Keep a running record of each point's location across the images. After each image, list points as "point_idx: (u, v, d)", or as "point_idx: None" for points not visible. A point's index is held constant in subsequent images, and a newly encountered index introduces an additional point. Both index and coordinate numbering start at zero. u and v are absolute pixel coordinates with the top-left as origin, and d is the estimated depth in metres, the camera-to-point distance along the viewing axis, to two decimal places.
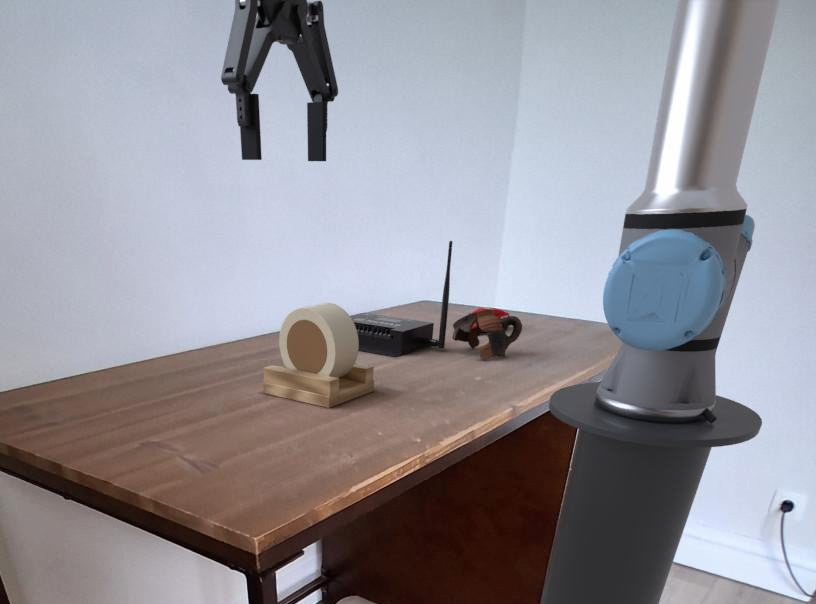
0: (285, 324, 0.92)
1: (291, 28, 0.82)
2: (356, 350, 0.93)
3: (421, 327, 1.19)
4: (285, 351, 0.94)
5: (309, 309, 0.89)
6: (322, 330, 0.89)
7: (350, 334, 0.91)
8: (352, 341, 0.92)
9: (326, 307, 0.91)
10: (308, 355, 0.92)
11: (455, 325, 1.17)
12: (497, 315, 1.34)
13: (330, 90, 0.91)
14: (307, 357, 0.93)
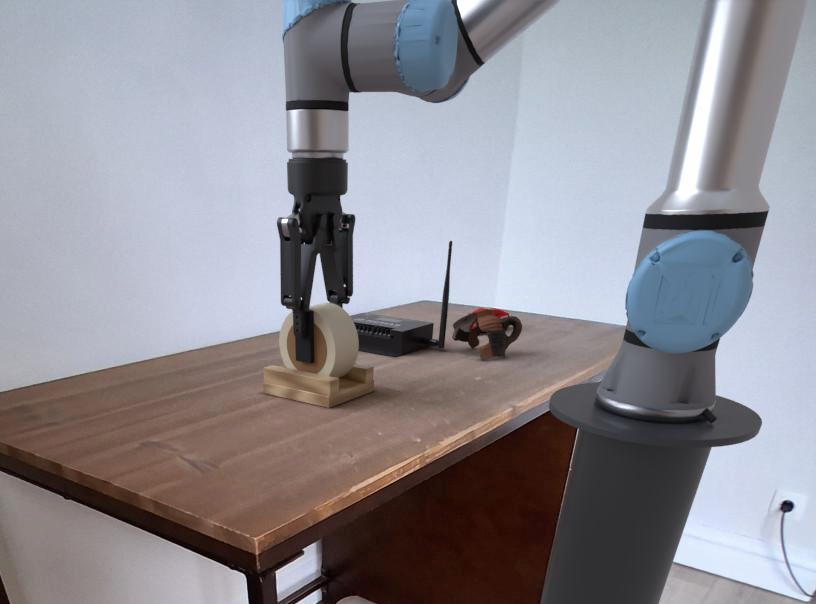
0: (285, 324, 0.92)
1: (326, 233, 0.86)
2: (356, 350, 0.93)
3: (421, 327, 1.19)
4: (285, 351, 0.94)
5: (309, 309, 0.89)
6: (322, 330, 0.89)
7: (350, 334, 0.91)
8: (352, 341, 0.92)
9: (326, 307, 0.91)
10: None
11: (455, 325, 1.16)
12: (497, 315, 1.34)
13: (346, 289, 0.93)
14: None
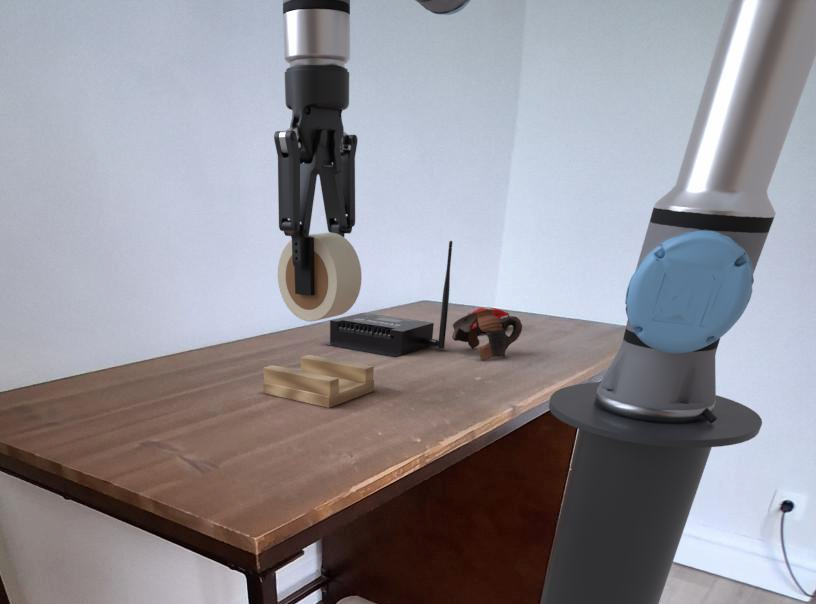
0: (284, 255, 0.87)
1: (327, 152, 0.81)
2: (359, 282, 0.88)
3: (421, 327, 1.19)
4: (284, 285, 0.90)
5: (309, 236, 0.84)
6: (323, 258, 0.84)
7: (353, 264, 0.87)
8: (355, 272, 0.87)
9: (327, 235, 0.86)
10: None
11: (455, 325, 1.16)
12: (497, 315, 1.34)
13: (347, 219, 0.88)
14: None
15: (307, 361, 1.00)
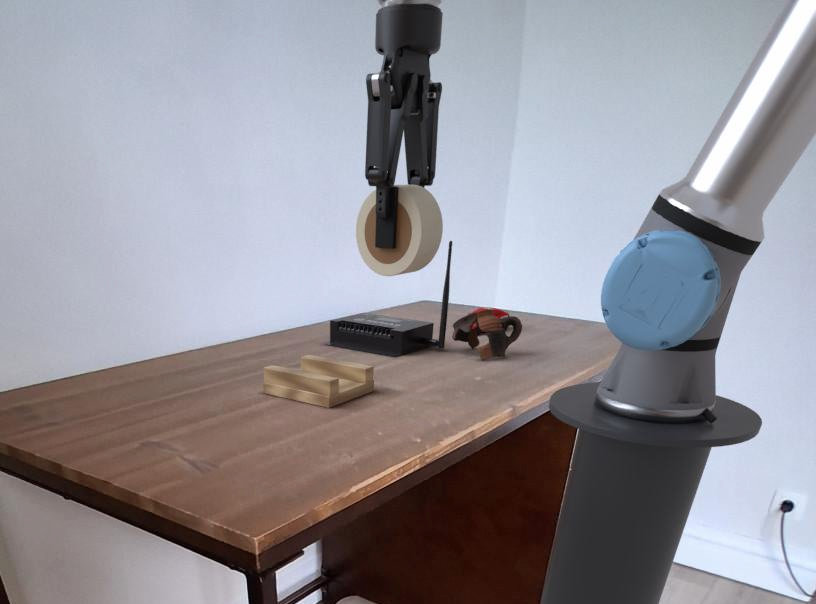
0: (364, 207, 0.86)
1: (415, 98, 0.79)
2: (440, 236, 0.87)
3: (421, 327, 1.19)
4: (362, 239, 0.88)
5: (393, 186, 0.82)
6: (407, 208, 0.83)
7: (435, 215, 0.85)
8: (437, 224, 0.85)
9: (410, 186, 0.84)
10: None
11: (455, 325, 1.16)
12: (497, 315, 1.34)
13: (428, 171, 0.87)
14: None
15: (307, 361, 1.00)
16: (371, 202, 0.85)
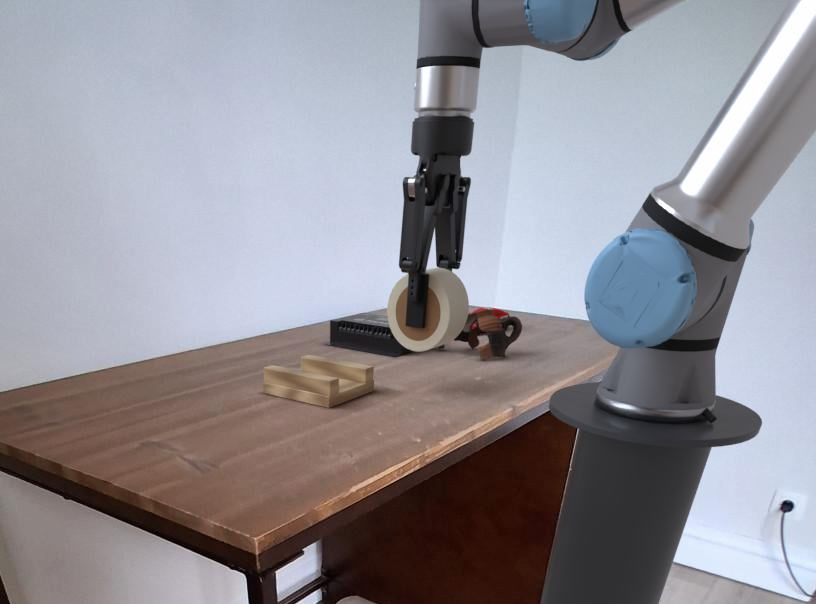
0: (396, 289, 0.92)
1: (446, 195, 0.85)
2: (466, 315, 0.93)
3: None
4: (393, 317, 0.94)
5: None
6: (437, 293, 0.89)
7: (462, 298, 0.91)
8: (464, 306, 0.92)
9: (439, 271, 0.90)
10: None
11: None
12: (497, 315, 1.34)
13: (456, 255, 0.93)
14: None
15: (307, 361, 1.00)
16: (403, 285, 0.91)
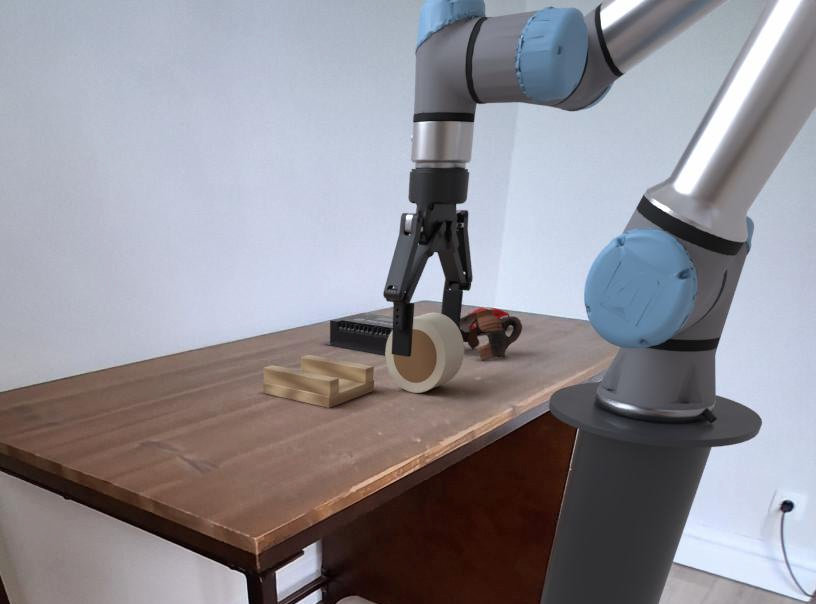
0: None
1: (443, 240, 0.88)
2: (461, 359, 0.96)
3: None
4: (391, 359, 0.97)
5: (421, 319, 0.92)
6: (433, 339, 0.92)
7: (458, 343, 0.94)
8: (459, 350, 0.95)
9: (435, 317, 0.93)
10: (416, 363, 0.95)
11: None
12: (497, 315, 1.34)
13: (466, 279, 0.97)
14: (414, 366, 0.96)
15: (307, 361, 1.00)
16: None
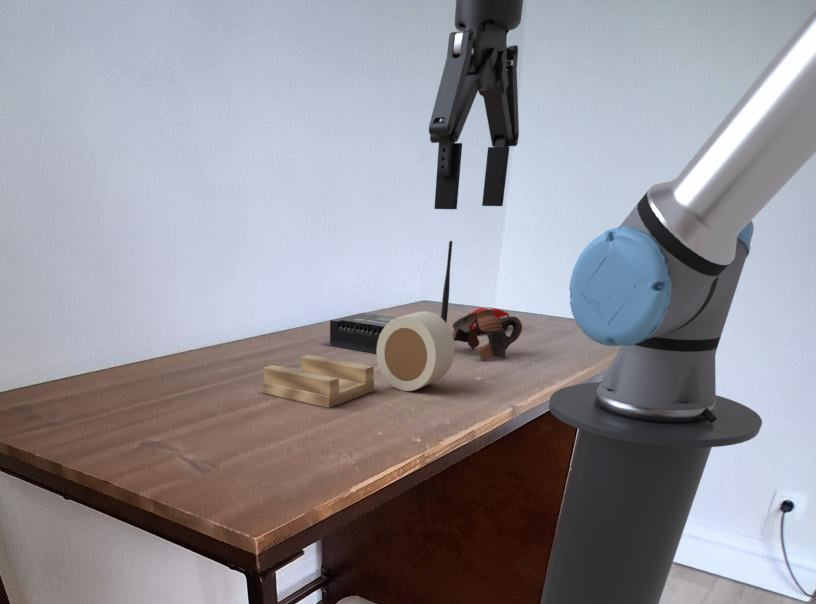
0: (380, 340, 0.97)
1: (492, 74, 0.79)
2: (452, 346, 0.96)
3: None
4: (384, 366, 0.98)
5: (402, 317, 0.93)
6: (418, 331, 0.93)
7: (445, 331, 0.95)
8: (448, 337, 0.95)
9: (417, 313, 0.95)
10: (408, 361, 0.96)
11: (455, 325, 1.16)
12: (497, 315, 1.34)
13: (512, 134, 0.88)
14: (407, 364, 0.96)
15: (307, 361, 1.00)
16: (386, 335, 0.96)
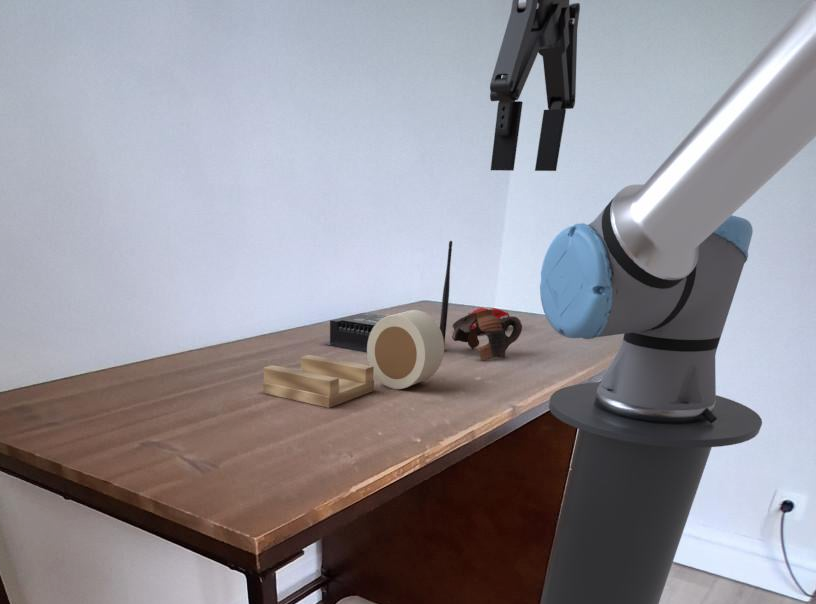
0: (369, 349, 0.99)
1: (554, 32, 0.78)
2: (439, 332, 0.96)
3: None
4: (379, 372, 0.99)
5: (382, 319, 0.95)
6: (401, 325, 0.94)
7: (427, 319, 0.95)
8: (432, 324, 0.95)
9: None
10: (399, 357, 0.96)
11: (455, 325, 1.16)
12: (497, 315, 1.34)
13: (569, 97, 0.86)
14: (399, 361, 0.97)
15: (307, 361, 1.00)
16: (372, 342, 0.98)
